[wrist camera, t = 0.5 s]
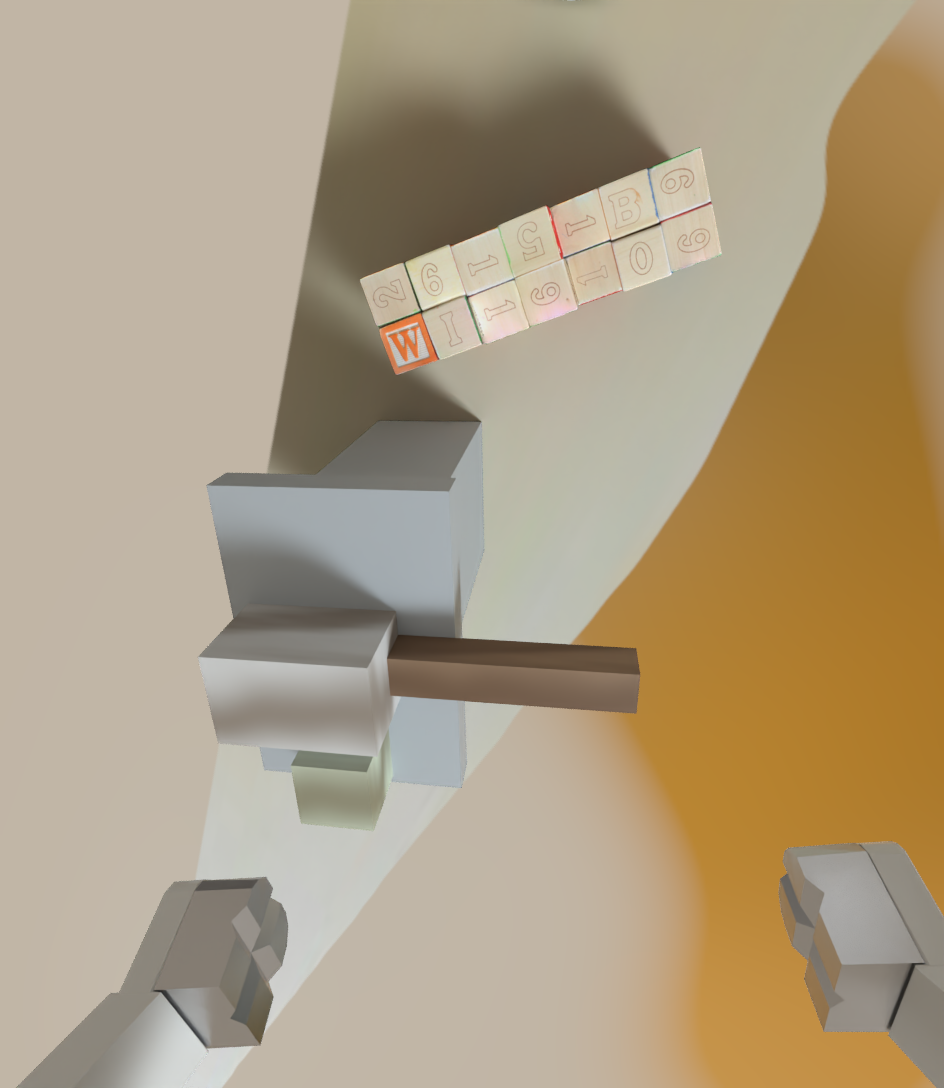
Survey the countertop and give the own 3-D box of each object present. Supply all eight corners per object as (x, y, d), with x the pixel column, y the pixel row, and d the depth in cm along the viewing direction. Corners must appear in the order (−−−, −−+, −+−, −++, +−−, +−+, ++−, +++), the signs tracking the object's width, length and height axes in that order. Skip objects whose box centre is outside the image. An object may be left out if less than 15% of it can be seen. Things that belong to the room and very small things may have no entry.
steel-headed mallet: (248, 603, 34) (198, 657, 29) (638, 623, 31) (649, 686, 27) (263, 681, 36) (218, 743, 32) (630, 707, 33) (639, 779, 29)
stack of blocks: (680, 164, 45) (714, 136, 34) (698, 257, 48) (736, 258, 36) (403, 272, 51) (355, 278, 40) (431, 350, 53) (393, 377, 42)
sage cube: (318, 714, 36) (290, 765, 33) (387, 719, 36) (366, 772, 32) (327, 769, 38) (301, 823, 34) (393, 775, 37) (373, 831, 34)
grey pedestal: (364, 385, 55) (206, 485, 31) (505, 385, 53) (448, 491, 30) (381, 574, 62) (264, 770, 39) (505, 580, 61) (461, 788, 37)
